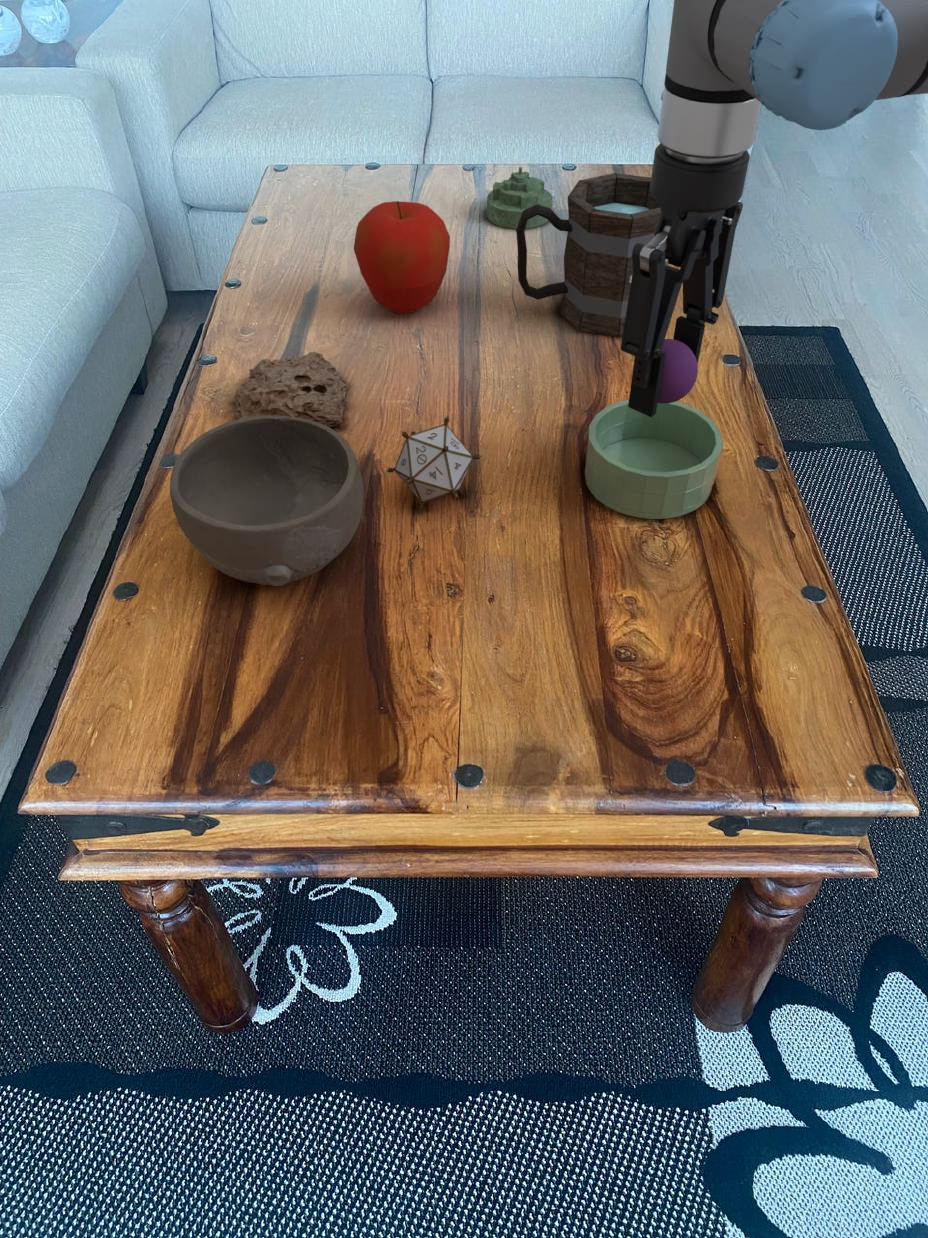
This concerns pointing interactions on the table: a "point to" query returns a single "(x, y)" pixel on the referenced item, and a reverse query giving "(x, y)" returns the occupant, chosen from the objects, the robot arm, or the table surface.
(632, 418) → the green bowl
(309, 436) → the bowl
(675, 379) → the plum ball
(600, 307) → the mug
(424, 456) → the game die
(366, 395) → the table surface
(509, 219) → the decorative artifact
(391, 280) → the apple
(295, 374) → the rock
